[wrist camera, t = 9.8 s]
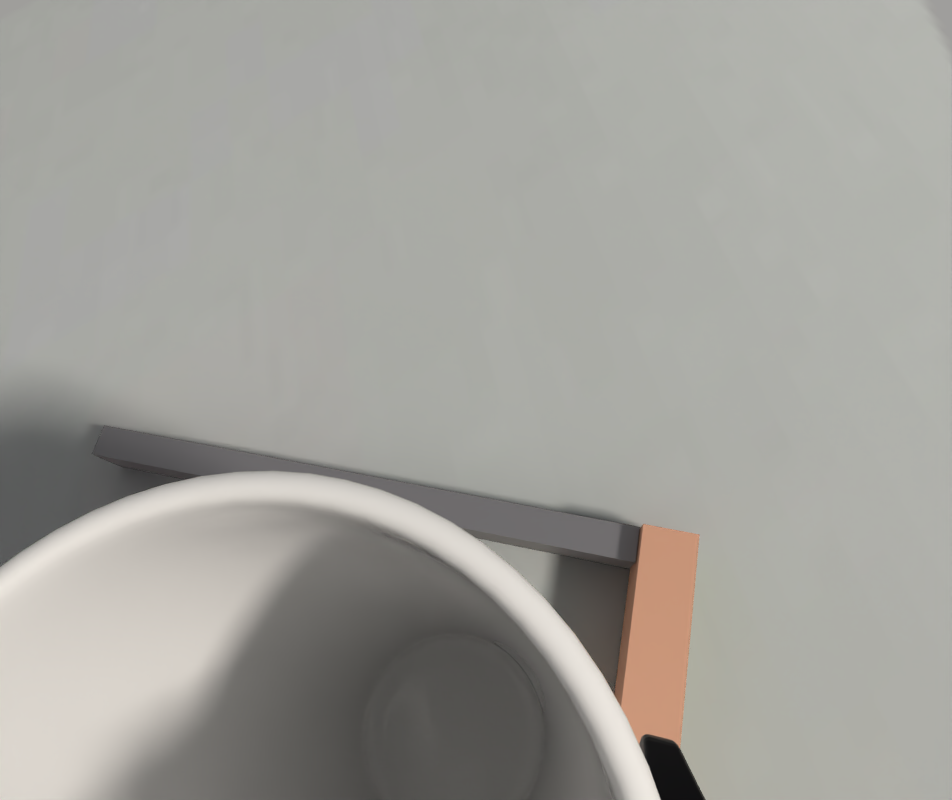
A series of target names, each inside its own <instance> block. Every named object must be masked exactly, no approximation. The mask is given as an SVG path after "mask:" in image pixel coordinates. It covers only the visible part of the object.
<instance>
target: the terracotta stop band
mask: <svg viewBox="0 0 952 800" xmlns="http://www.w3.org/2000/svg"><path fill="white" fill-rule="evenodd" d="M698 544H699V534H693V533H688V532H683V531H677V530H672V529H667V528H662V527H656V526H651V525H646V524H643V525H642V527H641V528H640V529H639V537H638V546H637V554H636V562H635V563H634V564H633V565H632V566H631V567H630V574H629V582H628V590H627V598H626V606H625V614H624V621H623V629H622V637H621V645H620V653H619V661H618V669H617V677H616V685H615V693H614V695H615V697H616V699H617V701H618V702H619V704H620V706H621V708H622V710H623V711H624V713H625V715H626V717H627V719H628V721H629V723H630V725H631V728H632V730H633V732H634V734H635V736H636V739H637V741H638V743H640V740H641V738H642V736H643V735H645V734H650V735H654V736H658V737H663V738H667V739H670V740H673V741H674V742H675V743H677V745H678V746H679V748H680V743H681V732H682V721H683V710H684V699H685V688H686V677H687V666H688V654H689V643H690V632H691V621H692V610H693V599H694V588H695V577H696V566H697V555H698Z"/></svg>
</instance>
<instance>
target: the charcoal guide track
mask: <svg viewBox="0 0 952 800" xmlns="http://www.w3.org/2000/svg"><path fill="white" fill-rule="evenodd" d="M92 454H93V455H95V456H98V457H100V458H102V459H105V460H107V461H109V462H112V463H114V464H116V465H119V466H122V467H127V468H132V469H137V470H142V471H146V472H151V473H156V474H161V475H166V476H171V477H176V478H181V479H191V478H195V477H200V476H207V475H215V474H223V473H231V472H244V471H285V472H299V473H312V474H317V475H323V476H329V477H334V478H340V479H345V480H350V481H353V482H357V483H360V484H364V485H367V486H371V487H374V488H378V489H381V490H384V491H387V492H389V493H392V494H394V495H397V496H399V497H402V498H404V499H407V500H409V501H411V502H414V503H416V504H419V505H420V506H422V507H424V508H426V509H428V510H430V511H432V512H434V513H436V514H438V515H439V516H441V517H443V518H445V519H447V520H449V521H451V522H453V523H454V524H456V525H457V526H459V527H460V528H462V529H463V530H465V531H466V532H468V533H469V534H471V535H472V536H474V537H475V538H479V539H484V540H489V541H494V542H499V543H504V544H509V545H514V546H519V547H524V548H529V549H534V550H539V551H544V552H549V553H554V554H558V555H563V556H568V557H573V558H578V559H583V560H588V561H593V562H598V563H603V564H608V565H613V566H618V567H623V568H628V569H629V568H630V567H631V566H632V565H633V564H634V563H635V562H636V554H637V546H638V537H639V529H640V527H637V526H631V525H626V524H621V523H616V522H610V521H605V520H600V519H595V518H589V517H584V516H579V515H573V514H568V513H563V512H558V511H552V510H547V509H542V508H537V507H531V506H526V505H521V504H515V503H510V502H505V501H500V500H494V499H489V498H484V497H479V496H473V495H468V494H463V493H457V492H452V491H447V490H442V489H436V488H431V487H426V486H421V485H415V484H410V483H405V482H399V481H394V480H389V479H384V478H378V477H373V476H368V475H363V474H357V473H352V472H347V471H341V470H336V469H331V468H326V467H320V466H315V465H310V464H305V463H299V462H294V461H289V460H283V459H278V458H273V457H268V456H262V455H257V454H252V453H247V452H241V451H236V450H231V449H225V448H220V447H215V446H210V445H204V444H199V443H194V442H189V441H183V440H178V439H173V438H167V437H162V436H157V435H152V434H146V433H141V432H136V431H131V430H125V429H120V428H115V427H109V426H104V427H103V430H102V432H101V434H100V436H99V439H98V441H97V443H96V445H95V448H94V450H93V452H92Z"/></svg>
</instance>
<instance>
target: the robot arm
mask: <svg viewBox="0 0 952 800" xmlns="http://www.w3.org/2000/svg"><path fill="white" fill-rule="evenodd" d="M639 745H640V747H641V750H642V752H643V754H644V756H645V758H646V761H647V763H648V765H649V768H650V771H651V773H652V776H653V779H654V782H655V785H656V787H657V790H658V793H659V796H660V799H661V800H705V798H704V796H703V794H702V792H701V790H700V788H699V786H698V784H697V782H696V780H695V778H694V776H693V774H692V772H691V770H690V768H689V766H688V764H687V762H686V760H685V758H684V756H683V754H682V752H681V750H680V748H679V746H678V745H677V743H675V742H674V741H673V740H670V739H667V738H663V737H658V736H654V735H650V734H645V735H643V736H642V738H641V740H640V743H639Z"/></svg>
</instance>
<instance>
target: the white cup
mask: <svg viewBox="0 0 952 800" xmlns="http://www.w3.org/2000/svg"><path fill="white" fill-rule="evenodd" d="M0 800H661V799H660V796H659V793H658V790H657V787H656V785H655V782H654V779H653V776H652V773H651V771H650V768H649V765H648V763H647V761H646V758H645V756H644V754H643V752H642V750H641V747H640V745H639V743H638V741H637V739H636V736H635V734H634V732H633V730H632V728H631V725H630V723H629V721H628V719H627V717H626V715H625V713H624V711H623V710H622V708H621V706H620V704H619V702H618V701H617V699H616V697H615V695H614V694H613V692H612V690H611V688H610V687H609V685H608V683H607V681H606V679H605V678H604V676H603V674H602V672H601V671H600V670H599V668H598V667H597V665H596V664H595V662H594V661H593V659H592V658H591V656H590V655H589V654H588V652H587V651H586V649H585V648H584V646H583V645H582V643H581V642H580V640H579V639H578V638H577V636H576V635H575V633H574V632H573V631H572V630H571V629H570V627H569V626H568V625H567V624H566V623H565V621H564V620H563V619H562V618H561V617H560V615H559V614H558V613H557V612H556V611H555V609H554V608H553V607H552V606H551V605H550V603H549V602H548V601H547V600H546V599H545V598H544V597H543V596H542V595H541V594H540V593H539V592H538V591H537V590H536V589H535V588H534V587H533V586H532V585H531V584H530V583H529V582H528V581H527V580H526V579H525V578H524V577H523V576H522V575H521V574H520V573H519V572H518V571H517V570H516V569H515V568H514V567H512V566H511V565H510V564H509V563H508V562H506V561H505V560H504V559H503V558H501V557H500V556H499V555H498V554H496V553H495V552H494V551H493V550H492V549H490V548H489V547H488V546H487V545H485V544H484V543H483V542H481V541H480V540H478V539H477V538H475V537H474V536H472V535H471V534H469V533H468V532H466V531H465V530H463V529H462V528H460V527H459V526H457V525H456V524H454V523H453V522H451V521H449V520H447V519H445V518H443V517H441V516H439V515H438V514H436V513H434V512H432V511H430V510H428V509H426V508H424V507H422V506H420V505H419V504H416V503H414V502H411V501H409V500H407V499H404V498H402V497H399V496H397V495H394V494H392V493H389V492H387V491H384V490H381V489H378V488H374V487H371V486H367V485H364V484H360V483H357V482H353V481H350V480H345V479H340V478H334V477H329V476H323V475H317V474H312V473H299V472H285V471H244V472H231V473H223V474H215V475H207V476H200V477H195V478H191V479H186V480H182V481H177V482H172V483H168V484H164V485H161V486H157V487H154V488H151V489H148V490H145V491H142V492H139V493H135V494H132V495H129V496H126V497H124V498H122V499H119V500H117V501H114V502H112V503H110V504H107V505H105V506H102V507H100V508H98V509H95V510H93V511H91V512H89V513H87V514H85V515H83V516H81V517H79V518H77V519H75V520H73V521H71V522H69V523H68V524H66V525H64V526H62V527H60V528H58V529H56V530H54V531H53V532H51V533H50V534H48V535H46V536H45V537H43V538H42V539H40V540H38V541H37V542H35V543H34V544H32V545H30V546H29V547H27V548H26V549H24V550H22V551H21V552H19V553H18V554H17V555H15V556H14V557H13V558H11V559H10V560H9V561H7V562H6V563H5V564H3V565H2V566H0Z"/></svg>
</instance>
